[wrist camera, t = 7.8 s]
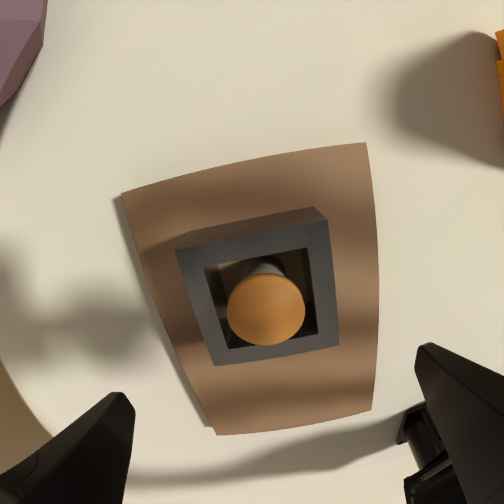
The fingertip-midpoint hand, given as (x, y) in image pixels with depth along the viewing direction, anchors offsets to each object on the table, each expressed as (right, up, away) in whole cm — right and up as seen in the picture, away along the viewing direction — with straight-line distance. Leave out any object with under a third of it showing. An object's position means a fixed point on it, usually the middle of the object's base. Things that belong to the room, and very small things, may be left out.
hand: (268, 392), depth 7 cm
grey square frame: (0, +3, +8) cm, 9 cm away
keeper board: (+1, -1, +10) cm, 11 cm away
